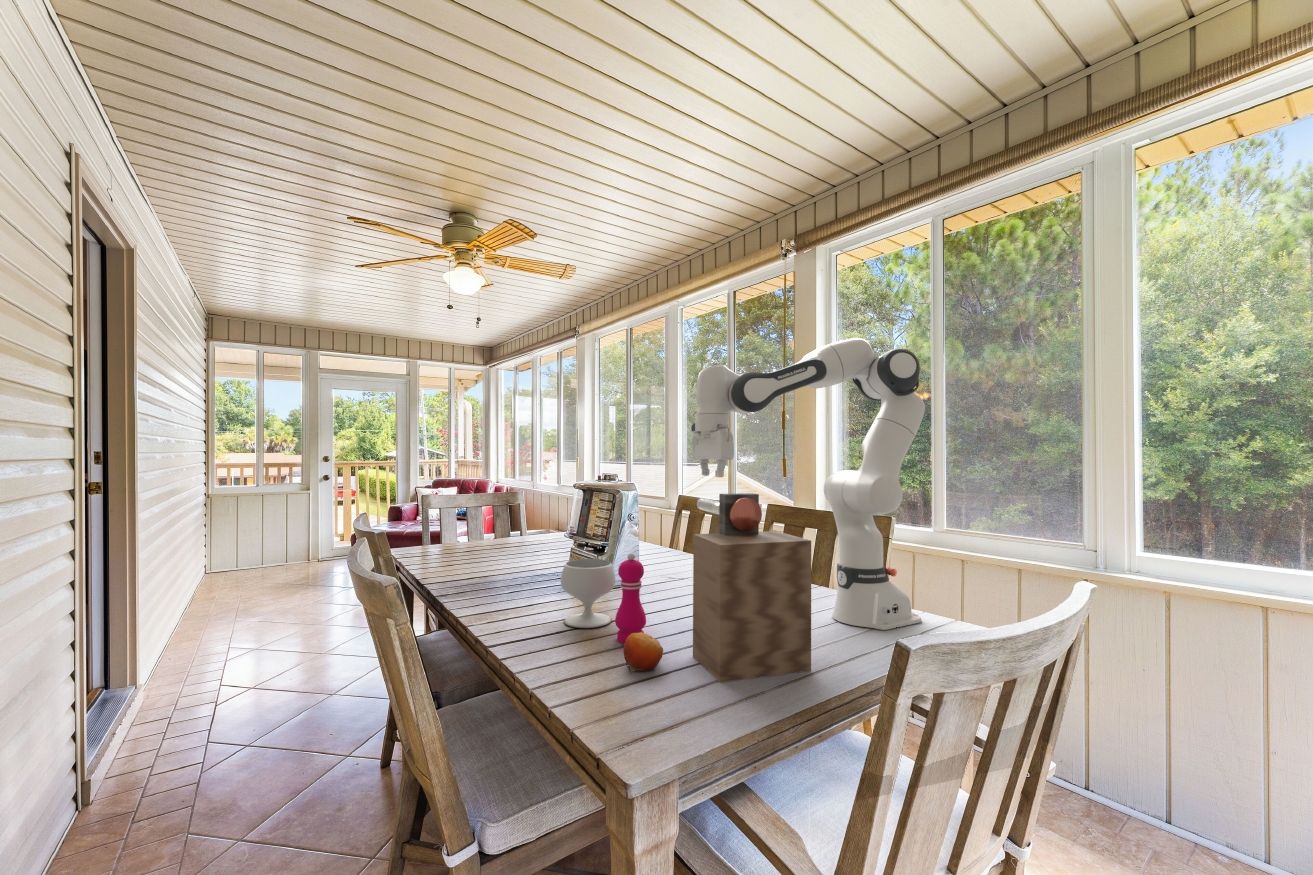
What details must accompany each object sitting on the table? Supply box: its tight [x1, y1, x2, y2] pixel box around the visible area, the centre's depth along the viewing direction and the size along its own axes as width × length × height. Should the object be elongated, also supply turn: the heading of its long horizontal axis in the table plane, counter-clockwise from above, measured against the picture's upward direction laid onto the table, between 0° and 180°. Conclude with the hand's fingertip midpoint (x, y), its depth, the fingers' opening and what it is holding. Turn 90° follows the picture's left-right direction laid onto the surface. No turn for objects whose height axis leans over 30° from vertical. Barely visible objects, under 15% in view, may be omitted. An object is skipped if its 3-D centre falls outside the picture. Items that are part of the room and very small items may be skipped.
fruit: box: [622, 632, 664, 675], centre depth 113 cm, size 8×8×8 cm
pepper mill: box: [614, 552, 647, 644], centre depth 130 cm, size 7×7×20 cm
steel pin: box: [696, 497, 763, 531], centre depth 130 cm, size 7×25×7 cm, turn 18°
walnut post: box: [692, 492, 812, 683], centre depth 116 cm, size 20×14×35 cm
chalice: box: [560, 558, 617, 629], centre depth 143 cm, size 14×14×15 cm
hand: (712, 476), depth 151 cm, fingers open, 8 cm apart
